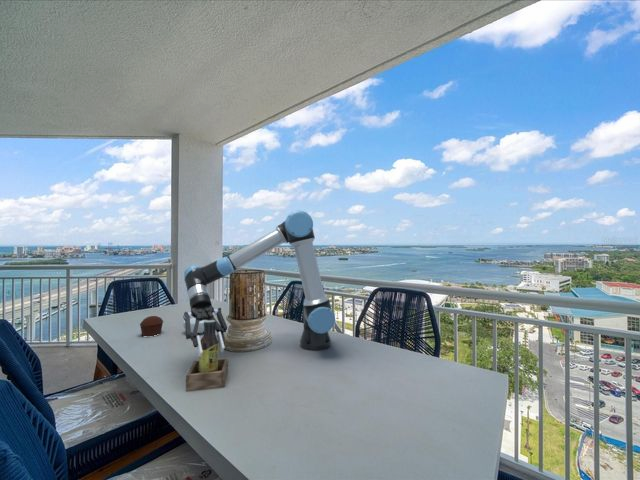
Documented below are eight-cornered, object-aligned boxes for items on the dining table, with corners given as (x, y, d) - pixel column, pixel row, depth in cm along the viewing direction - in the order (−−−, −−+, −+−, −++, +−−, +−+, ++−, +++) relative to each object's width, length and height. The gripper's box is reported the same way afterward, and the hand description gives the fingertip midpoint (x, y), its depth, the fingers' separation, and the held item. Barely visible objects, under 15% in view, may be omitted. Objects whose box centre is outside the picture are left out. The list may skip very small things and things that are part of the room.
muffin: (155, 338, 151) (155, 319, 151) (134, 338, 151) (135, 319, 151) (167, 331, 163) (167, 314, 163) (148, 331, 163) (148, 314, 163)
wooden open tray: (227, 371, 108) (227, 357, 108) (224, 387, 96) (224, 371, 96) (194, 374, 105) (194, 360, 106) (185, 391, 93) (186, 375, 93)
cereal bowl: (221, 330, 164) (221, 318, 164) (195, 338, 150) (195, 324, 150) (203, 326, 173) (203, 315, 173) (176, 333, 159) (177, 320, 159)
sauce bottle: (211, 382, 97) (211, 323, 98) (194, 380, 98) (195, 323, 99) (221, 374, 103) (222, 319, 104) (206, 372, 104) (206, 318, 105)
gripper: (222, 302, 120) (236, 351, 106) (170, 307, 108) (179, 364, 94) (226, 290, 116) (242, 340, 102) (173, 295, 104) (183, 352, 90)
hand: (211, 352), depth 98 cm, fingers open, 7 cm apart
